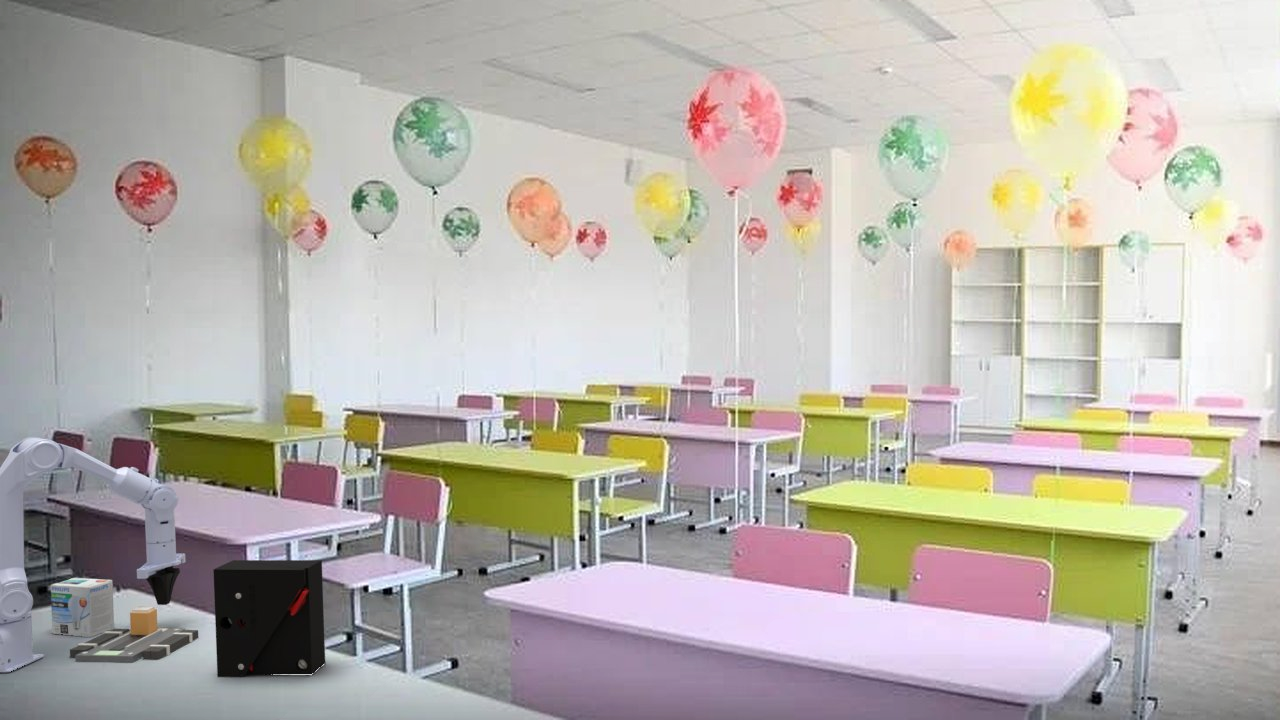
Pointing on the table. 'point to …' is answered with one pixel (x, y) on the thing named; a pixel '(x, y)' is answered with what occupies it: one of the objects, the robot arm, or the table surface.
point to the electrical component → (269, 617)
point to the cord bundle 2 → (170, 644)
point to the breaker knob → (143, 620)
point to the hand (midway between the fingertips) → (163, 604)
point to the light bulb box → (82, 607)
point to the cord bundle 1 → (97, 641)
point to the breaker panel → (125, 647)
